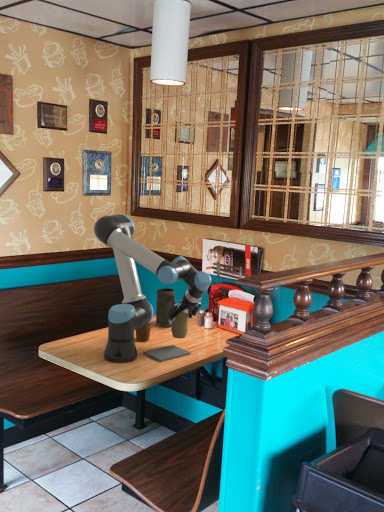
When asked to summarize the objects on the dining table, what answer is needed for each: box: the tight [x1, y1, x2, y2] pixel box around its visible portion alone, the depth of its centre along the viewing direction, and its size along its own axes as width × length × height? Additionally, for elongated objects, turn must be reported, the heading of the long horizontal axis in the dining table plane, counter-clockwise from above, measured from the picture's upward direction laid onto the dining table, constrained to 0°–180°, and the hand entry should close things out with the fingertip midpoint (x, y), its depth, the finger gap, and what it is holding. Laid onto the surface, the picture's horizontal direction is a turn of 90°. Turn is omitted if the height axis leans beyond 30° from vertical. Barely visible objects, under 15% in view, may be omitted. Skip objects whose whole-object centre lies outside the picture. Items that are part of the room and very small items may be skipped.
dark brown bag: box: [155, 287, 176, 328], centre depth 291 cm, size 15×11×20 cm
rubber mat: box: [142, 344, 192, 363], centre depth 248 cm, size 18×13×1 cm
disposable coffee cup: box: [135, 318, 154, 343], centre depth 266 cm, size 10×10×12 cm
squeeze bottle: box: [170, 299, 189, 339], centre depth 255 cm, size 8×8×18 cm
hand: (176, 322), depth 259 cm, fingers closed on squeeze bottle, 6 cm apart
